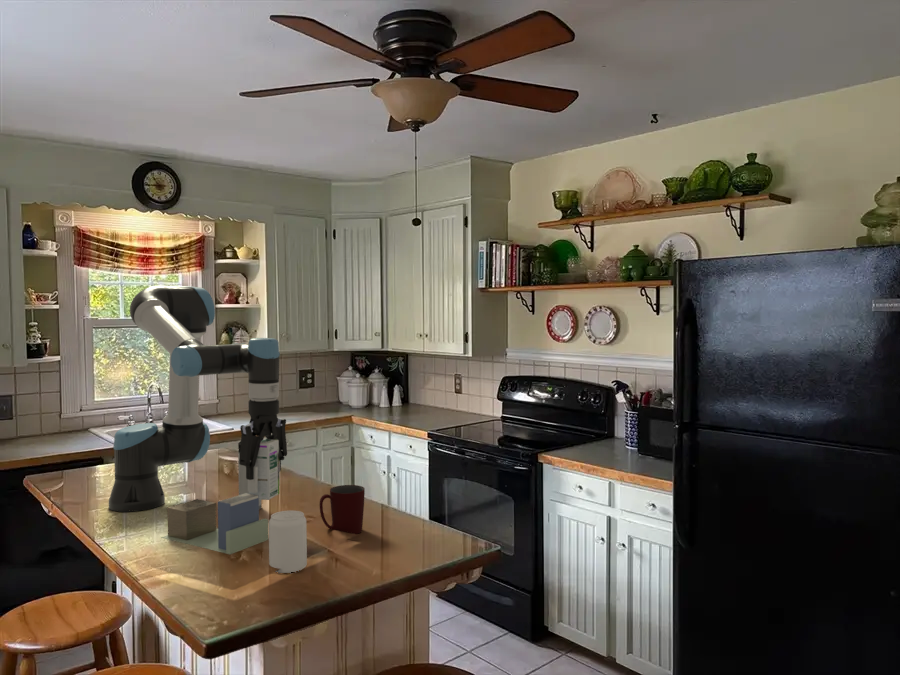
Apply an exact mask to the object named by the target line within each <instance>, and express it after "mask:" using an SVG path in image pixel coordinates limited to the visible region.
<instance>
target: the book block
mask: <svg viewBox="0 0 900 675" xmlns="http://www.w3.org/2000/svg"><path fill="white" fill-rule="evenodd" d="M258 520H260V509H259V495H255V494H249V493H245V494H242V495H239V494H238V495H235V496H231V497H229V498H225V499H221V500H218V501H217V528H218V548H219V549H223V550H226V532H227V531H230V530H232V529H235V528H238V527H241V526H244V525H247V524H250V523H253V522H256V521H258Z"/></svg>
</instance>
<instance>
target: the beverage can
mask: <svg viewBox="0 0 900 675" xmlns="http://www.w3.org/2000/svg"><path fill="white" fill-rule="evenodd" d="M307 544H308V543H307V518H306V517H305V513H304V512H303V511H301V510H282V511H277V512H274V513H272V514H271V515H270V519H268V563H269V566H270V567H271V568H275V569H277V570H275V571H274V573H276V572H278V573H277V574H280V573H290V574H292V573H291V572H295V573H297V572H296V571H298V572H300V571H301V570H303V569H304V568H306V567H307V565H308V557H307V556H308V552H307V551H308V549H307V547H308V546H307ZM299 570H300V571H299Z"/></svg>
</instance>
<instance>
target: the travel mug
mask: <svg viewBox="0 0 900 675" xmlns="http://www.w3.org/2000/svg"><path fill="white" fill-rule="evenodd" d="M237 444H238V445H237V446H238V452H237V453H238V455H237V458H238V460H237V462H238V466H237V468H238V470H237V472H238V496H239V495H242V494H245V493H249V491H248V479H246V466H244V465H240V464H239V458H240V447H241V441H239V442H238V443H237ZM262 506H263V505H262V500H261V499H259V510H261V509H262Z"/></svg>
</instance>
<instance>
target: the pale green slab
mask: <svg viewBox="0 0 900 675" xmlns="http://www.w3.org/2000/svg"><path fill="white" fill-rule="evenodd" d="M160 538H161V539H165V540H169V541H174V542H177V543H182V544H185V545H189V546H193V547H197V548H201V549H202V548H203V549H205V550H210V551H215V552H219V553H222V554H225V555H226V554H227V555H233V554H235V553H237V552H240V551H243V550H245V549H247V548H251V547H253V546H256V545H258V544H262V543H263V542H267V541H269V519H268V518H262V519H259V520H258V521H256V522H253V523H250V524H247V525H244V526H241V527H238V528H235V529H232V530H230V531H227V532H226V550H223V549H219V548H218V527H216V531H213V532H210V533H207V534H204V535H201V536H198V537H195V538H192V539H189V540H184V539H180V538H176V537H171V536H168V534H167V535H165V536H161V537H160Z"/></svg>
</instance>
